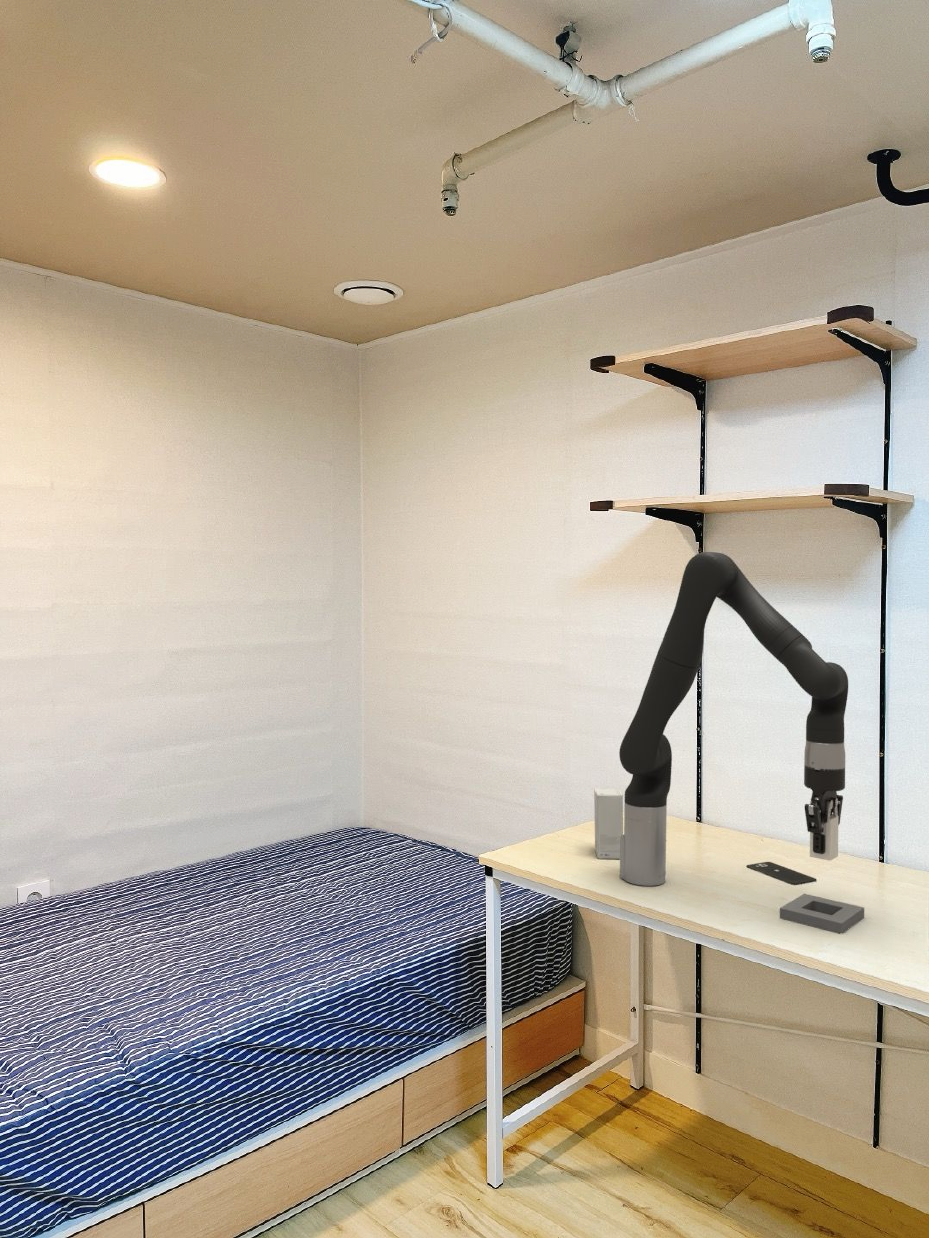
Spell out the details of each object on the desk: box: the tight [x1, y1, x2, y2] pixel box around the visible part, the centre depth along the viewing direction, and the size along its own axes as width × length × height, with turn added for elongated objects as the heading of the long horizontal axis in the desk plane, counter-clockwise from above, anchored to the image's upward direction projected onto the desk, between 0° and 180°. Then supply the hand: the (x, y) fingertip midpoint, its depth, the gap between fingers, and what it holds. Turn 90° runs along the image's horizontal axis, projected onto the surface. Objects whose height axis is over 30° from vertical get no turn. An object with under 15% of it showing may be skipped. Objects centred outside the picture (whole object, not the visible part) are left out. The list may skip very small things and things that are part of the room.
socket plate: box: [779, 893, 865, 934], centre depth 179 cm, size 12×12×2 cm
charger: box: [809, 815, 839, 862], centre depth 179 cm, size 4×4×8 cm
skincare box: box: [593, 788, 624, 860], centre depth 221 cm, size 8×7×16 cm
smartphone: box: [746, 861, 817, 886], centre depth 208 cm, size 8×15×1 cm, turn 26°
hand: (823, 850), depth 179 cm, fingers closed on charger, 4 cm apart
